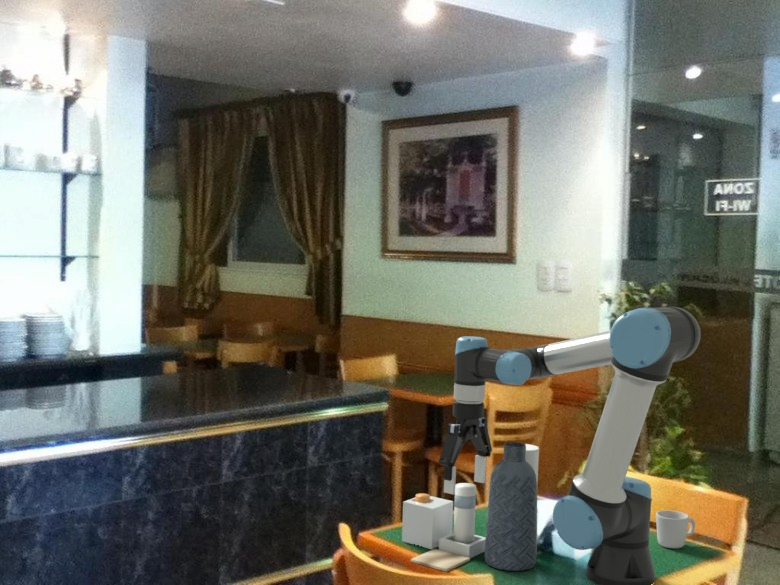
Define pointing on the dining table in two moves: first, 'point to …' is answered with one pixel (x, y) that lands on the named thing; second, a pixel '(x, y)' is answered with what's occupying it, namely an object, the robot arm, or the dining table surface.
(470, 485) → the cylinder
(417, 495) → the brown egg
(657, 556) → the dining table surface
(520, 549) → the vase
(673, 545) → the cup
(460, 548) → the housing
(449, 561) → the coaster
